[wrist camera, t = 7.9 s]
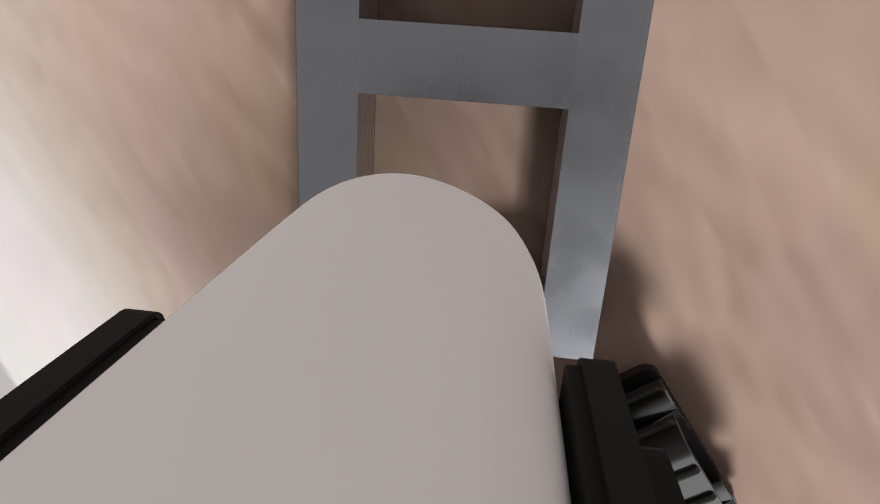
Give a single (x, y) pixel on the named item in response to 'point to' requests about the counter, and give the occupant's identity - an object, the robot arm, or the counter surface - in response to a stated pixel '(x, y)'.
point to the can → (329, 372)
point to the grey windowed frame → (488, 81)
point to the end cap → (673, 436)
